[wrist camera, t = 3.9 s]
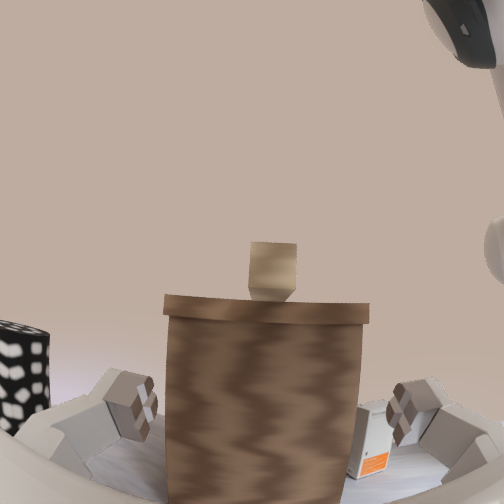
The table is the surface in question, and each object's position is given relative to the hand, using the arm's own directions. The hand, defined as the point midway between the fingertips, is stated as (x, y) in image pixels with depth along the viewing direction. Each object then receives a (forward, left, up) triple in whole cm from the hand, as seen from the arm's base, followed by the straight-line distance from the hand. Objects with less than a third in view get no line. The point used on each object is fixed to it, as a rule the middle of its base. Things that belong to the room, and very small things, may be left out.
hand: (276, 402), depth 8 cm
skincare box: (-17, -29, -21) cm, 40 cm away
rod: (0, -19, +5) cm, 19 cm away
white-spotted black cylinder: (+25, -11, -21) cm, 35 cm away
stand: (0, -26, -21) cm, 34 cm away
